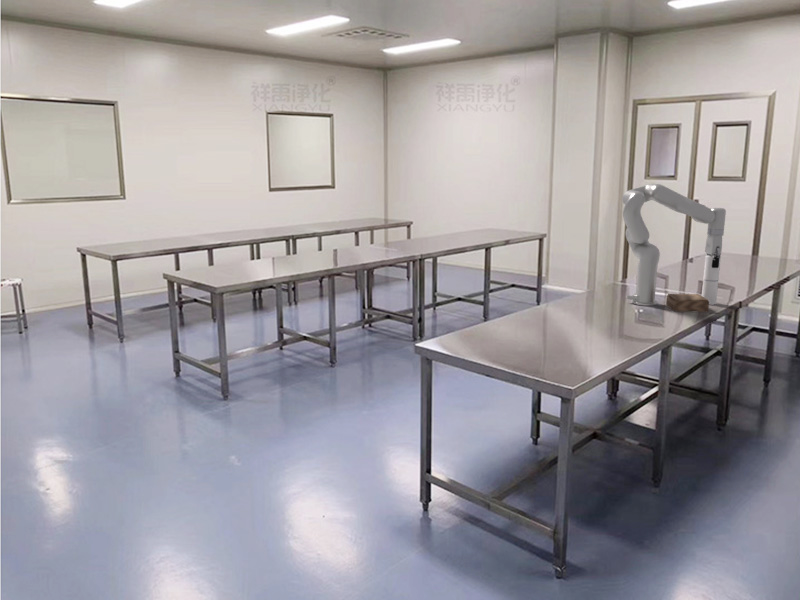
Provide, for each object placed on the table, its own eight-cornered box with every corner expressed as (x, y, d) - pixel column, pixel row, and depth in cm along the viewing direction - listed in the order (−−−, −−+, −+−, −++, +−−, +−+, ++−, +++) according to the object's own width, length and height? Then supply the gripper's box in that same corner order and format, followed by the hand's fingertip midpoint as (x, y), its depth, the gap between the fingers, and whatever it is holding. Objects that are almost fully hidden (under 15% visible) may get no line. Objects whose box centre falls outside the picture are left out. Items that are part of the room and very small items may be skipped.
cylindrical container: (707, 305, 328) (712, 257, 322) (697, 302, 335) (702, 255, 329) (719, 304, 330) (724, 256, 324) (709, 301, 336) (713, 254, 331)
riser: (674, 311, 316) (675, 299, 315) (666, 304, 330) (667, 293, 328) (708, 311, 314) (709, 300, 313) (698, 305, 328) (699, 294, 327)
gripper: (701, 230, 333) (698, 263, 337) (714, 234, 316) (710, 269, 320) (716, 230, 332) (713, 263, 336) (730, 234, 315) (726, 269, 319)
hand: (712, 266), depth 328 cm, fingers closed on cylindrical container, 7 cm apart
